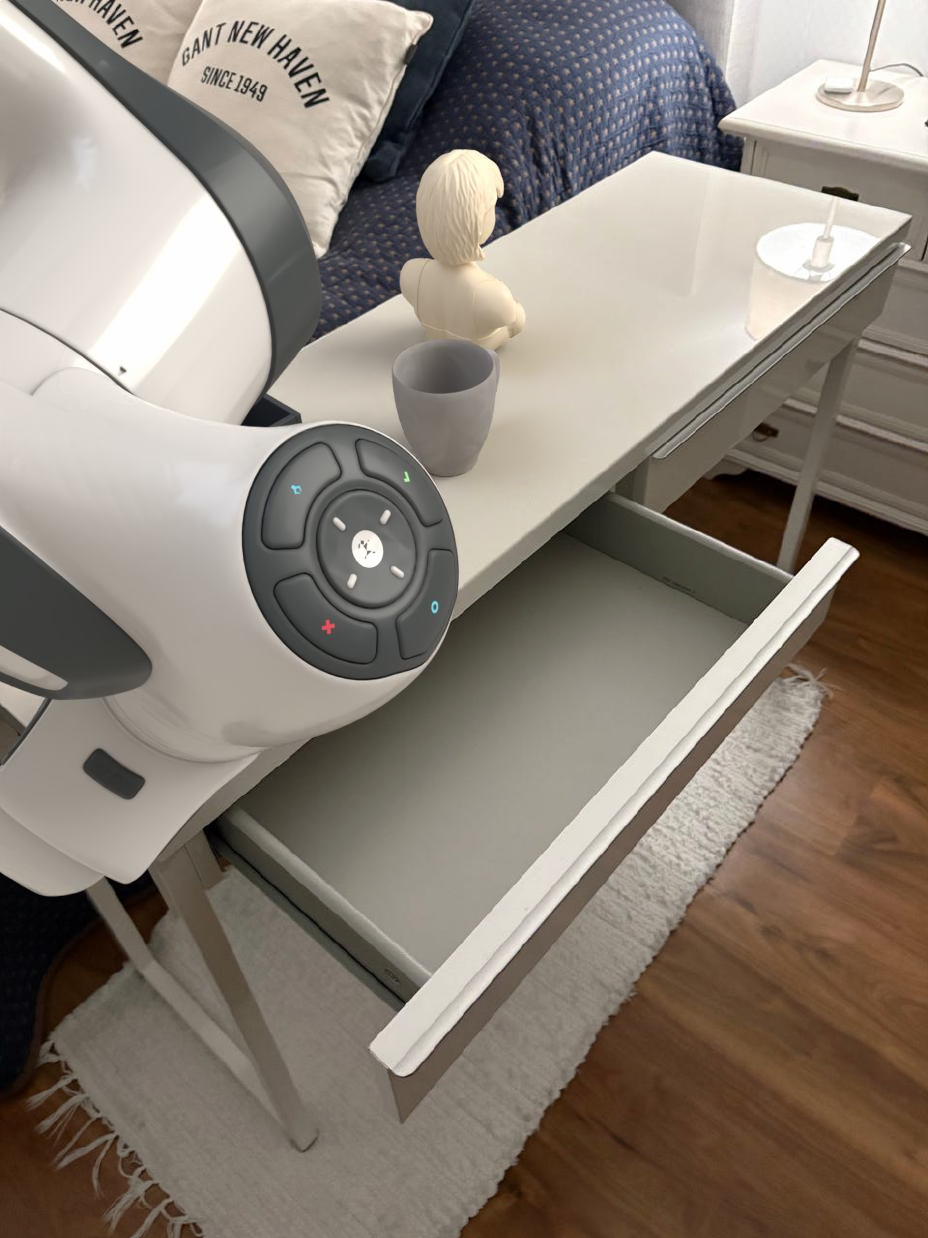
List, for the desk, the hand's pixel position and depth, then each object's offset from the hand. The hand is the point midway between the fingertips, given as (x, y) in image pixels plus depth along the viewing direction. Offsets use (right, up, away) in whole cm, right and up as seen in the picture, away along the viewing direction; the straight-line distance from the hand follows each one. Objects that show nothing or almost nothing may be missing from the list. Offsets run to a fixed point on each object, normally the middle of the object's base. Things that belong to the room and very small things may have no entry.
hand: (123, 703), depth 50 cm
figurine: (+18, +32, +50) cm, 63 cm away
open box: (-4, +17, +37) cm, 41 cm away
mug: (+17, +20, +39) cm, 47 cm away
